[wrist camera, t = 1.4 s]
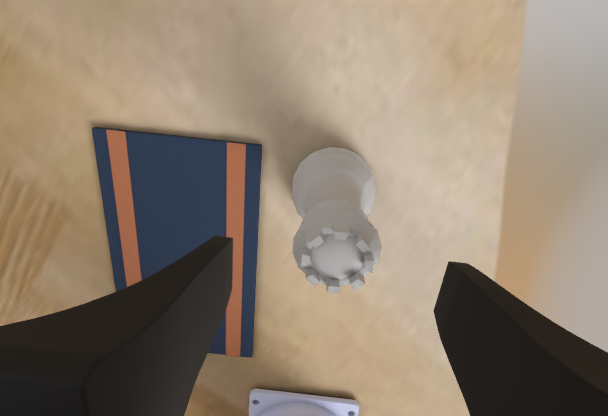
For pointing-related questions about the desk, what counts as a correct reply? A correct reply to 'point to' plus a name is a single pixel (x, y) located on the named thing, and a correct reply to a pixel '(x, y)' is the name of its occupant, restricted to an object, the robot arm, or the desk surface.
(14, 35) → the desk surface
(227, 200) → the cloth
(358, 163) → the rook chess piece
